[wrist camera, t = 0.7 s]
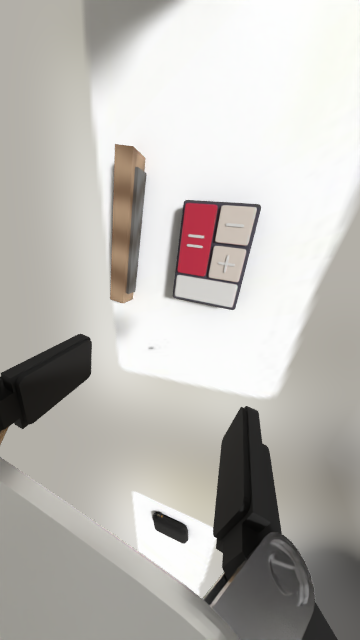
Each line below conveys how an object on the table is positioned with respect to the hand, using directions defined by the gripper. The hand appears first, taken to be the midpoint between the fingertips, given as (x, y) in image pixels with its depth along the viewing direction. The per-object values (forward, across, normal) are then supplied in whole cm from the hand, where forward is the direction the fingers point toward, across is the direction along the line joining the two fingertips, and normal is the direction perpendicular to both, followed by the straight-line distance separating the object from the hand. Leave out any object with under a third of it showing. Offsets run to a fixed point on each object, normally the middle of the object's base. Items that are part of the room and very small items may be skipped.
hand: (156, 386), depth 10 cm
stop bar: (+24, +18, -6) cm, 31 cm away
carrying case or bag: (+26, -13, +94) cm, 99 cm away
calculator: (+25, +2, -6) cm, 26 cm away
